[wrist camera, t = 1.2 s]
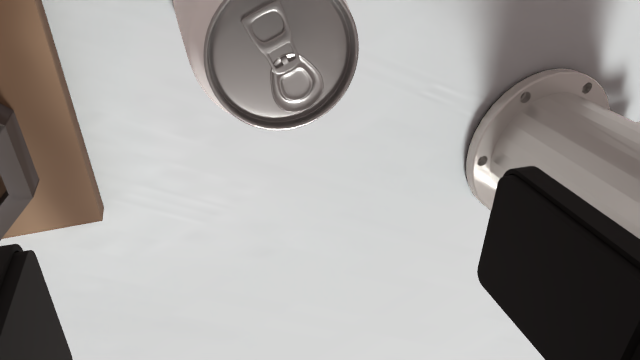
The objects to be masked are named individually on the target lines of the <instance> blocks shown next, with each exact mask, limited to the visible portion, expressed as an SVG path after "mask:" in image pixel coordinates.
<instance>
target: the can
mask: <svg viewBox="0 0 640 360" xmlns="http://www.w3.org/2000/svg"><path fill="white" fill-rule="evenodd" d="M173 4H174V9H175V14H176V17H177V21H178V25H179V28H180V32H181V35H182V39H183V42H184V46H185V49H186V52H187V56H188V59H189V62H190V65H191V67H192V70H193V72H194V75H195V77H196V79H197V81H198V82H199V84H200V86H201V87H202V89H203V90H204V91H205V93H206V94H207V95H208V97H209V98H210V99H211V100H212V101H213V102H214V103H215V104H216V105H218V106H219V107H220V108H221V109H223V110H224V111H226V112H227V113H229V114H231V115H233V116H235V117H236V118H238V119H239V120H241V121H243V122H244V123H247V124H249V125H251V126H254V127H257V128H261V129H267V130H288V129H294V128H298V127H301V126H304V125H307V124H309V123H311V122H313V121H315V120H317V119H319V118H320V117H322V116H323V115H324V114H326V113H327V112H328V111H329V110H331V109H332V108H333V107H334V106H335V105H336V104H337V103H338V101H339V100H340V99H341V98H342V96H343V95H344V93H345V92H346V90H347V89H348V87H349V85H350V83H351V81H352V78H353V76H354V73H355V69H356V66H357V60H358V51H359V44H358V34H357V29H356V25H355V22H354V19H353V17H352V15H351V12H350V10H349V7H348V5H347V2H346V0H173Z"/></svg>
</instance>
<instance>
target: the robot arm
mask: <svg viewBox="0 0 640 360" xmlns="http://www.w3.org/2000/svg"><path fill="white" fill-rule="evenodd" d="M466 175H467V180H468V185H469V187H470V189H471V191H472V193H473V195H474V196H475V197H476V198H477V199H478V200H479V201H480V202H481V203H482V204H483V205H484V206H486V207H487V208H488V209H489V210H491V214H490V218H489V222H488V227H487V231H486V235H485V240H484V244H483V248H482V252H481V257H480V261H479V265H478V271H477V272H478V278H479V281H480V283H481V285H482V286H483V287H484V288H485V290H486V291H487V292H488V293H489V294H490V295H491V297H492V298H493V299H494V300H495V301H496V302H497V304H498V305H499V306H500V307H501V308H502V309H503V311H504V312H505V313H506V314H507V315H508V316H509V318H510V319H511V320H512V321H513V322H514V323H515V325H516V326H517V327H518V328H519V329H520V331H521V332H522V333H523V334H524V335H525V336H526V338H527V339H528V340H529V341H530V342H531V343H532V345H533V346H534V347H535V348H536V349H537V350H538V352H539V353H540V354H541V355H542V356H543V357H544V359H545V360H640V122H634V121H632V120H630V119H628V118H626V117H623V116H621V115H619V114H617V113H615V112H613V111H611V110H610V108H609V103H608V98H607V96H606V94H605V92H604V90H603V88H602V87H601V85H600V84H599V83H598V82H597V81H596V80H595V79H593V78H591V77H589V76H588V75H586V74H583V73H580V72H578V71H575V70H572V69H562V68H558V69H551V70H545V71H542V72H540V73H537V74H534V75H531V76H530V77H528V78H526V79H524V80H522V81H520V82H519V83H517V84H516V85H515V86H513V87H512V88H511V89H509V90H508V91H507V92H505V93H504V94H503V95H502V96H501V97H500V98H499V99H498V100H497V101H496V102H495V103H494V104H493V105H492V107H491V108H490V109H489V111H488V112H487V113H486V115H485V116H484V117H483V119H482V120H481V122H480V124H479V126H478V128H477V129H476V131H475V133H474V136H473V138H472V141H471V143H470V146H469V150H468V155H467V160H466ZM0 360H72V355H71V352H70V349H69V347H68V344H67V341H66V338H65V335H64V333H63V330H62V327H61V324H60V321H59V319H58V316H57V313H56V310H55V308H54V305H53V302H52V299H51V296H50V294H49V291H48V288H47V285H46V282H45V280H44V277H43V274H42V271H41V268H40V266H39V263H38V260H37V257H36V255H35V253H34V252H33V251H32V250H29V251H23V250H22V248H21V247H20V246H19V245H18V244H12V245H6V246H0Z"/></svg>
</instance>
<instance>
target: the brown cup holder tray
mask: <svg viewBox="0 0 640 360" xmlns="http://www.w3.org/2000/svg"><path fill="white" fill-rule="evenodd" d="M103 211H104V206H103V203H102V200H101V196H100V193H99V190H98V186H97V183H96V180H95V176H94V173H93V170H92V166H91V163H90V160H89V156H88V153H87V150H86V147H85V143H84V140H83V137H82V133H81V130H80V127H79V123H78V120H77V117H76V113H75V110H74V107H73V103H72V100H71V97H70V93H69V90H68V87H67V83H66V80H65V77H64V74H63V70H62V67H61V64H60V60H59V57H58V54H57V50H56V47H55V44H54V40H53V37H52V34H51V30H50V27H49V24H48V20H47V17H46V14H45V10H44V7H43V4H42V0H0V240H1V239H4V238H9V237H15V236H20V235H26V234H31V233H37V232H42V231H48V230H53V229H59V228H65V227H70V226H76V225H81V224H87V223H92V222H98V221H102V219H103Z"/></svg>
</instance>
